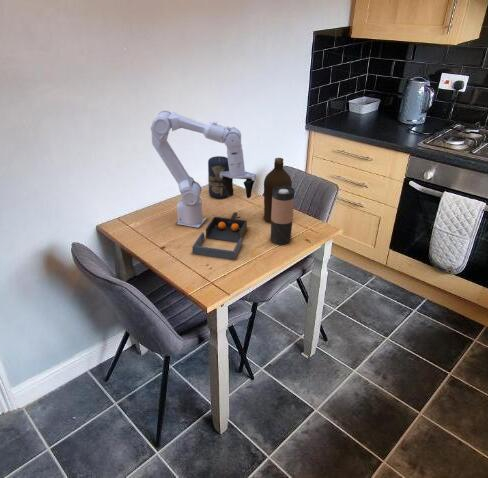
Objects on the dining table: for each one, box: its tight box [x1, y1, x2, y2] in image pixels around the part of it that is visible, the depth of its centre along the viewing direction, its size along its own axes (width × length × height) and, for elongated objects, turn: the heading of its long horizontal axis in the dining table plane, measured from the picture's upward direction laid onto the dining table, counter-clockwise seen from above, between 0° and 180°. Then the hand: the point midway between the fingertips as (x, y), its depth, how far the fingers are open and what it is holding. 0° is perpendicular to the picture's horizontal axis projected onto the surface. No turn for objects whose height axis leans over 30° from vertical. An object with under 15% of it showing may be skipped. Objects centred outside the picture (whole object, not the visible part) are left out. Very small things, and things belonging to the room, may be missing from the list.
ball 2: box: [231, 223, 239, 231], centre depth 163 cm, size 3×3×3 cm
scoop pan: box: [205, 211, 248, 243], centre depth 165 cm, size 19×13×4 cm
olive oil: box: [263, 157, 293, 224], centre depth 166 cm, size 11×11×25 cm
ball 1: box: [218, 222, 226, 230], centre depth 164 cm, size 3×3×3 cm
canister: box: [207, 155, 229, 199], centre depth 189 cm, size 10×10×18 cm
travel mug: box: [270, 186, 296, 246], centre depth 153 cm, size 8×8×20 cm
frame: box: [192, 232, 243, 261], centre depth 152 cm, size 10×15×3 cm
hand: (240, 196), depth 164 cm, fingers open, 7 cm apart
